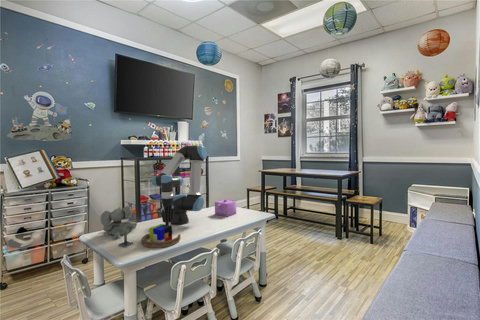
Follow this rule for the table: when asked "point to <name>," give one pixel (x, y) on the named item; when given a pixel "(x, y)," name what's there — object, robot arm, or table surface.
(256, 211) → the table surface
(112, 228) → the plush elephant
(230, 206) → the purple lidded box
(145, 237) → the rim
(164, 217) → the robot arm
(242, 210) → the table surface
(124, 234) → the dial gauge stand
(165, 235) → the puzzle toy
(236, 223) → the table surface
